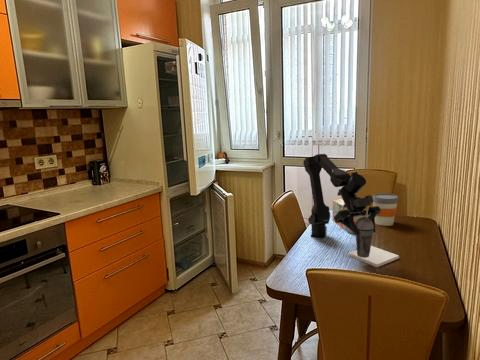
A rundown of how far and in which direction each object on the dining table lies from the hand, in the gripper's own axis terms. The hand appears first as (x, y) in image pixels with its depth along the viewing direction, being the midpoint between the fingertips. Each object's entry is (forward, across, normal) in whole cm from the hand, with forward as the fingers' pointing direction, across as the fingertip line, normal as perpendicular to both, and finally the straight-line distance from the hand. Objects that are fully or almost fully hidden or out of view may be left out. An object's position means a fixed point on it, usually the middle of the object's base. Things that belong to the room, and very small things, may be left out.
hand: (366, 233), depth 134 cm
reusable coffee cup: (-18, +42, +38) cm, 59 cm away
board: (+6, +8, +13) cm, 16 cm away
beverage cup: (+6, 0, +8) cm, 10 cm away
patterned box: (-20, +20, +40) cm, 50 cm away
